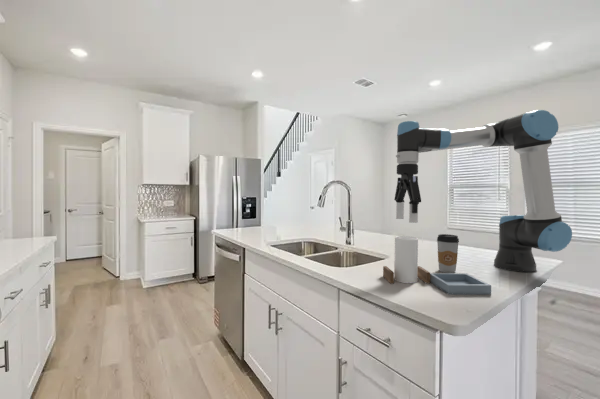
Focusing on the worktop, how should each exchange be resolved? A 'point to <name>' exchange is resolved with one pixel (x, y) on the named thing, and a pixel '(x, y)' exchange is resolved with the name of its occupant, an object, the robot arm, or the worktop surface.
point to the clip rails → (421, 274)
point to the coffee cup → (447, 252)
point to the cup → (406, 259)
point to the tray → (459, 284)
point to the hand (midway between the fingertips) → (406, 220)
